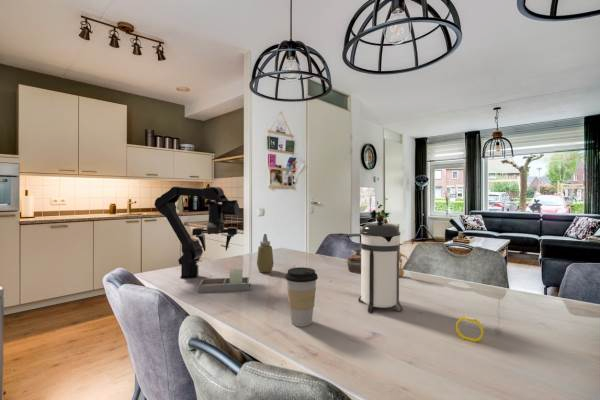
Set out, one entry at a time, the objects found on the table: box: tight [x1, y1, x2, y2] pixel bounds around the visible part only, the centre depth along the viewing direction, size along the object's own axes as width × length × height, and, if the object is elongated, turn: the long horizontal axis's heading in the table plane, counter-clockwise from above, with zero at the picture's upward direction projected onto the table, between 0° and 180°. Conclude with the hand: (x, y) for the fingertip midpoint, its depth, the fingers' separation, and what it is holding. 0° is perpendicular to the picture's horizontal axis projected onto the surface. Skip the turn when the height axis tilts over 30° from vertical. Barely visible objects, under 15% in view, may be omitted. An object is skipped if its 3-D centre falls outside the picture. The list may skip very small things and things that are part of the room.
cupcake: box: [346, 249, 361, 274], centre depth 145 cm, size 10×10×10 cm
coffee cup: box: [284, 267, 319, 328], centre depth 87 cm, size 9×9×15 cm
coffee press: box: [358, 215, 403, 314], centre depth 100 cm, size 17×16×30 cm
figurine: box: [399, 250, 410, 278], centre depth 134 cm, size 8×6×12 cm
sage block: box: [229, 268, 243, 284], centre depth 120 cm, size 4×4×6 cm
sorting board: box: [197, 276, 250, 294], centre depth 119 cm, size 18×10×2 cm, turn 98°
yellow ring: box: [455, 314, 484, 343], centre depth 77 cm, size 6×3×6 cm, turn 53°
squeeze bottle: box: [256, 233, 274, 274], centre depth 144 cm, size 8×8×18 cm
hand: (215, 250), depth 133 cm, fingers open, 9 cm apart
